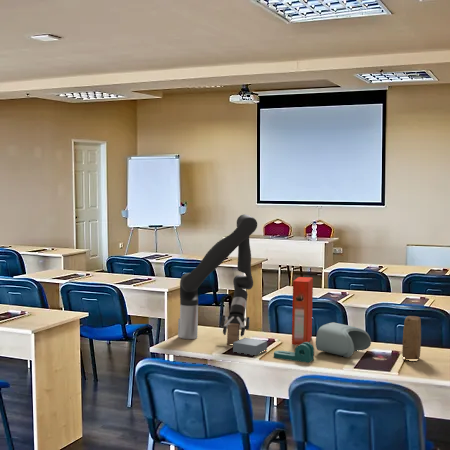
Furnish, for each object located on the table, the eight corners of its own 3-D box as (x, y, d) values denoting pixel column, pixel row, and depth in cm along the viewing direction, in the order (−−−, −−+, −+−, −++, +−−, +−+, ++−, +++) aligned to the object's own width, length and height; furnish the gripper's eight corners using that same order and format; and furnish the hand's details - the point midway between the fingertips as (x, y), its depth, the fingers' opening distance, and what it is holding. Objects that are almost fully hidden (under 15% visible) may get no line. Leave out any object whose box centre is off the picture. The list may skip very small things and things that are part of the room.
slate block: (233, 352, 307) (233, 342, 306) (244, 347, 317) (244, 337, 317) (255, 356, 301) (256, 345, 301) (266, 351, 311) (267, 341, 311)
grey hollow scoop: (335, 345, 324) (337, 320, 323) (370, 353, 314) (373, 327, 312) (314, 353, 307) (316, 327, 305) (351, 362, 296) (353, 335, 295)
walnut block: (229, 342, 326) (229, 323, 325) (239, 343, 324) (239, 323, 324) (227, 345, 321) (227, 325, 320) (236, 345, 320) (237, 325, 319)
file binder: (291, 344, 326) (293, 280, 324) (296, 336, 342) (298, 276, 341) (307, 345, 324) (309, 281, 322) (311, 338, 340) (313, 277, 339)
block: (417, 363, 295) (419, 319, 294) (400, 361, 298) (402, 317, 297) (421, 357, 304) (423, 315, 303) (405, 355, 308) (407, 314, 307)
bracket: (313, 359, 297) (314, 342, 297) (308, 363, 291) (309, 345, 291) (277, 354, 305) (277, 338, 305) (271, 357, 299) (272, 340, 299)
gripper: (223, 302, 331) (217, 329, 320) (251, 304, 327) (246, 331, 317) (225, 311, 336) (220, 338, 326) (252, 313, 333) (248, 340, 322)
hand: (233, 334), depth 321 cm, fingers open, 8 cm apart
